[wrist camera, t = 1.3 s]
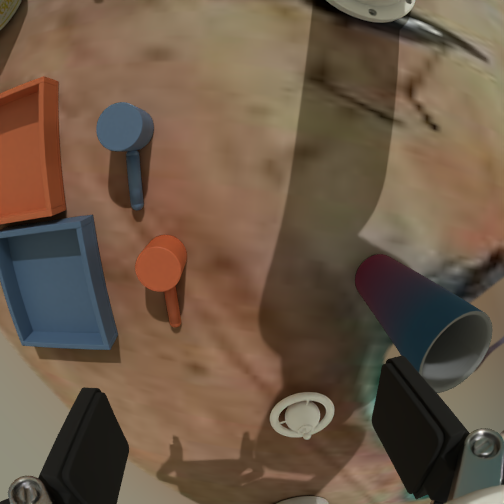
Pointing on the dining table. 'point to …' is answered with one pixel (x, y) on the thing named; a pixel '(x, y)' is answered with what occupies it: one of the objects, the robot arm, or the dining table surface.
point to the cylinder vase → (305, 500)
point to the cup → (425, 321)
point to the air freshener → (7, 10)
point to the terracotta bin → (30, 152)
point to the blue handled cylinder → (127, 141)
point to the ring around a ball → (302, 414)
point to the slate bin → (56, 284)
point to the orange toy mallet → (163, 271)
